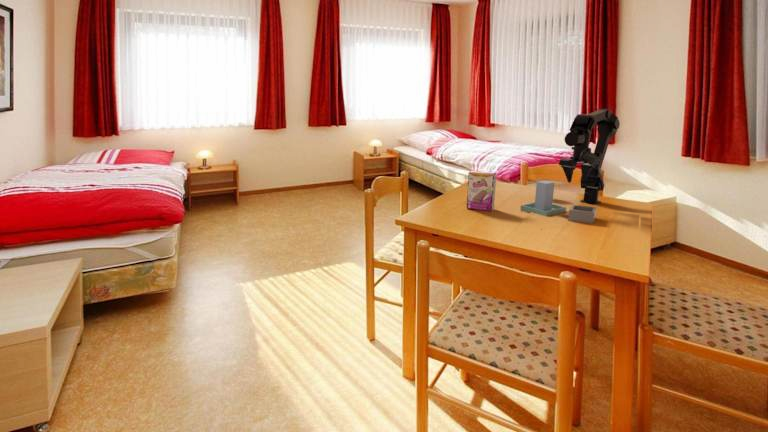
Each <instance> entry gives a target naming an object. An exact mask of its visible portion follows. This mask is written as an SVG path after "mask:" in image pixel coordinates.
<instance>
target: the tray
mask: <svg viewBox="0 0 768 432" xmlns="http://www.w3.org/2000/svg"><path fill="white" fill-rule="evenodd" d="M534 207H535V201H534V202H531V203H530V202H529V203H525V204H521V205H520V211H521V212H525V213H528V214H531V213H533V214H537V215H540V216H545V217H549V216H551V215H556V214H561V213H565V212H567V206H562V205H558V204H555V203H552V210H550V211H542V210H538V209H535V208H534Z"/></svg>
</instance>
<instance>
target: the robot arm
mask: <svg viewBox="0 0 768 432" xmlns="http://www.w3.org/2000/svg"><path fill="white" fill-rule="evenodd" d="M620 123H621V122H620V120H619V118H618V116H617V115H615V113H613V112H612V110H611V109H609V108H599V109H597V110H596V111H593V112H590V113H588V114H585V113H584V114H583V113H582V114H580V113H579V114H576V116H575V117H574V118H573V122H572V124H571V125H570V128H569V132H568V133H567V134H566V135H565V136H564V143H565V144H566V146H568V147H571V150H572V156H570V158H569V157H568V158H567V157H564V158H560V159H559V160H558V165H559V166H560V168H562V170H563V172H564V174H565V177H566V181H567V183H571V182H572V180H573V179H572V178H573V175H574V172H575V171H574V170H576V169H577V165H580V170H581V171H580V172H581V177H580V189H584V192H583V193H584V194H583V199H580V202H582V203H587V204H591V205H594V204H599V203H601V202H602V201H601V200H599V195H600V191H601V192H602V191H604V189H605V182H604V179H603V177H604V175H603V172H602V165H603V163H604V160H605V156H606V153H607V149H608V148H609V144H610V140H611V139H612V138H613V137H614V136H615V135H616V134H617V131H618V130H619V128H620V125H621V124H620ZM596 126H597V128H596V130H597V133H598V138H597V142H596V145H595V148H594V151H593V152H592V148H591V147H590V141H591V140H590V139H591V135H592V134H593V132H592V130H593V128H594V127H596Z"/></svg>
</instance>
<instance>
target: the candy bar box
mask: <svg viewBox="0 0 768 432" xmlns="http://www.w3.org/2000/svg"><path fill="white" fill-rule="evenodd" d="M467 175H468V179H467V197H466V210H467V209H468V210H475V211H483V212H485V211H486V212H492V211H493V210H494V209H495V198H496V185H497V184H496V183H497V172H493V171H483V170H482V171H481V170H470V171H469V172H468V174H467Z"/></svg>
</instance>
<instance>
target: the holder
mask: <svg viewBox="0 0 768 432" xmlns="http://www.w3.org/2000/svg"><path fill="white" fill-rule="evenodd" d="M570 206H571V207H570V208H569V211H568V219H567V220H568V222H575V223H584V224H594V222H595V219H596V214H597V207H596V206H589V205H581V204H579V205H578V204H572V205H570Z"/></svg>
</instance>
